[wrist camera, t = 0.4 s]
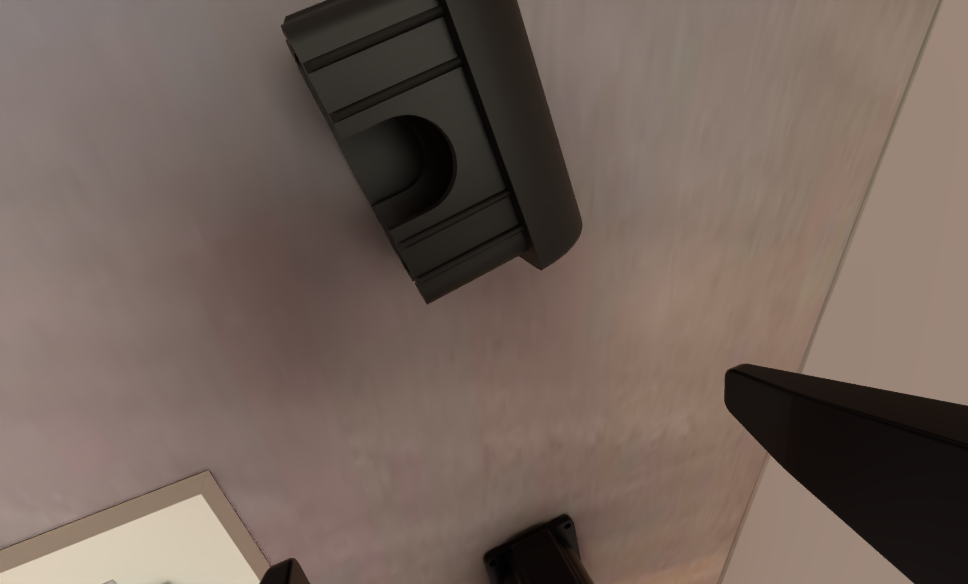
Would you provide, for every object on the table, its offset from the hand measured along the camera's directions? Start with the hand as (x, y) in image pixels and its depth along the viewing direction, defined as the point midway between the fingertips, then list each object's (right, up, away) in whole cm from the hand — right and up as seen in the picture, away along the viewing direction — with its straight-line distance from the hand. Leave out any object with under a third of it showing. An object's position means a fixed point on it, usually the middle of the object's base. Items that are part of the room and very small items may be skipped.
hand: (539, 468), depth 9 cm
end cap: (-4, +10, +11) cm, 15 cm away
